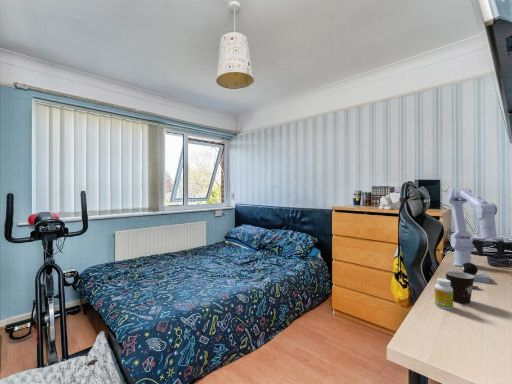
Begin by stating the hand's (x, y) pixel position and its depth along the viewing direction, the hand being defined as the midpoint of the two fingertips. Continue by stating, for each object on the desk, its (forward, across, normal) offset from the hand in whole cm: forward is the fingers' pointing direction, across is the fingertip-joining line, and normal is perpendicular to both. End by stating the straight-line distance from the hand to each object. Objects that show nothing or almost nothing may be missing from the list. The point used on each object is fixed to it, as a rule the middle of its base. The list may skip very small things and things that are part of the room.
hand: (490, 257), depth 120 cm
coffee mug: (+16, +8, -39) cm, 43 cm away
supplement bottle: (+17, +10, -48) cm, 52 cm away
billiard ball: (+10, -9, 0) cm, 14 cm away
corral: (+11, -6, -6) cm, 13 cm away
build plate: (+13, 0, -19) cm, 23 cm away
